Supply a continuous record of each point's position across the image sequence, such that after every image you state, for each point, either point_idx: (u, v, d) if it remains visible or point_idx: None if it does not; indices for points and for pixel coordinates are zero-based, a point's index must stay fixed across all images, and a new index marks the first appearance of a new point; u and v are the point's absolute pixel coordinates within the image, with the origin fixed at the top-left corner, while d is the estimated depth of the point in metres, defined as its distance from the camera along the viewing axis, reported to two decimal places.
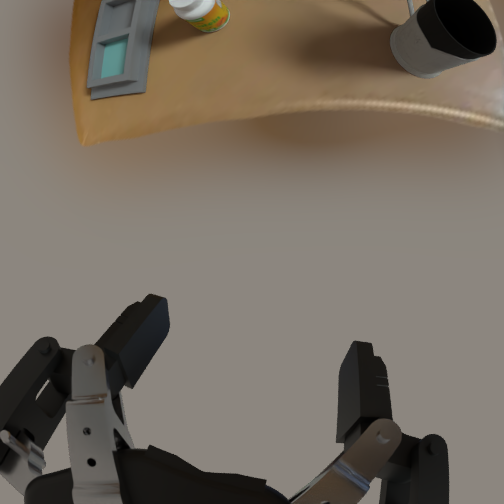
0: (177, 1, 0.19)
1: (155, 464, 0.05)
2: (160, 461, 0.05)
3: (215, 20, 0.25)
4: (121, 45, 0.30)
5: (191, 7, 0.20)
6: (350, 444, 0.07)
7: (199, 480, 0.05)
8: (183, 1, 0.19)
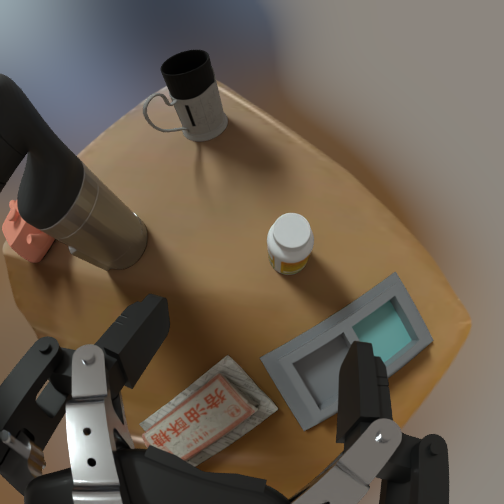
0: (303, 230, 0.28)
1: (155, 464, 0.05)
2: (160, 461, 0.05)
3: None
4: None
5: None
6: (350, 444, 0.07)
7: (199, 480, 0.05)
8: (300, 223, 0.28)
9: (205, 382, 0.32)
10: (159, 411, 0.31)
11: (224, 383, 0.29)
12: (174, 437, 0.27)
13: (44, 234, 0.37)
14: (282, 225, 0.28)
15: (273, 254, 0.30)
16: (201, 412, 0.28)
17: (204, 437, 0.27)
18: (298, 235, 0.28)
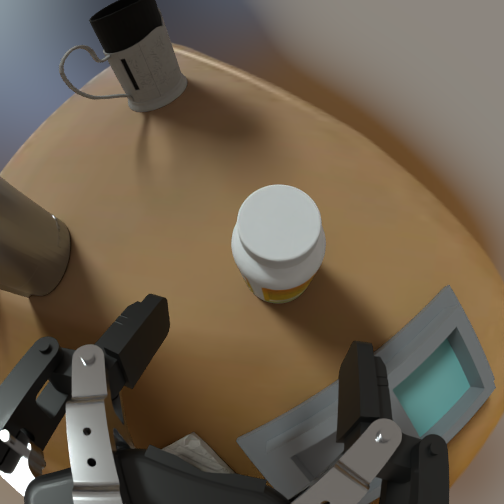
0: (304, 220, 0.12)
1: (155, 464, 0.05)
2: (160, 461, 0.05)
3: None
4: (408, 403, 0.16)
5: None
6: (350, 444, 0.07)
7: (199, 480, 0.05)
8: (296, 205, 0.13)
9: None
10: None
11: None
12: None
13: None
14: (257, 212, 0.13)
15: (244, 274, 0.15)
16: None
17: None
18: (294, 231, 0.12)
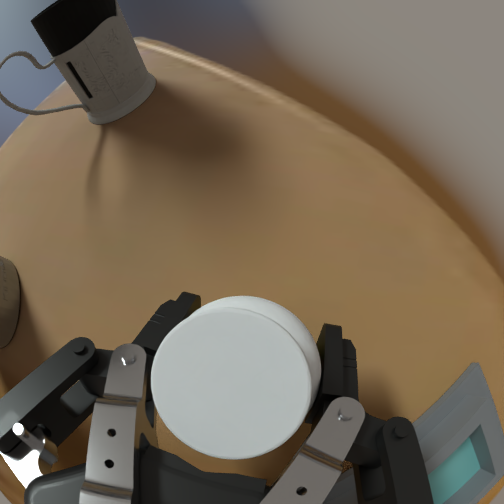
0: (276, 391, 0.06)
1: (155, 464, 0.05)
2: (160, 461, 0.05)
3: None
4: None
5: None
6: (315, 423, 0.07)
7: (199, 480, 0.05)
8: (264, 360, 0.06)
9: None
10: None
11: None
12: None
13: None
14: (185, 369, 0.06)
15: None
16: None
17: None
18: (255, 414, 0.05)
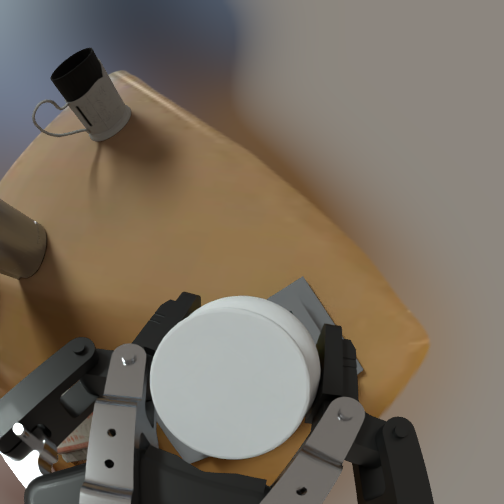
0: (275, 391, 0.06)
1: (155, 464, 0.05)
2: (160, 461, 0.05)
3: None
4: None
5: None
6: (315, 423, 0.07)
7: (199, 480, 0.05)
8: (262, 360, 0.06)
9: None
10: None
11: None
12: None
13: None
14: (184, 369, 0.06)
15: None
16: None
17: (74, 440, 0.20)
18: (253, 414, 0.05)
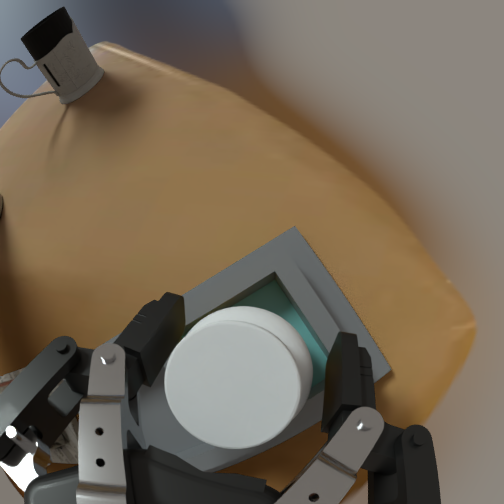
0: (271, 391, 0.07)
1: (155, 464, 0.05)
2: (160, 461, 0.05)
3: None
4: None
5: None
6: (333, 432, 0.07)
7: (199, 480, 0.05)
8: (260, 365, 0.07)
9: None
10: None
11: None
12: None
13: None
14: (194, 373, 0.07)
15: None
16: None
17: None
18: (253, 410, 0.07)
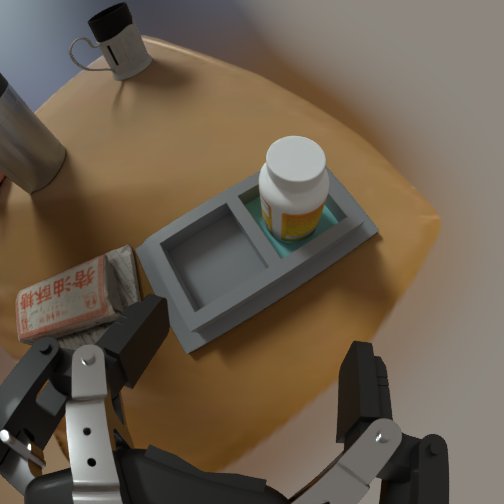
0: (313, 157, 0.17)
1: (155, 464, 0.05)
2: (160, 461, 0.05)
3: None
4: None
5: None
6: (350, 444, 0.07)
7: (199, 480, 0.05)
8: (308, 148, 0.17)
9: None
10: None
11: (100, 264, 0.23)
12: (36, 305, 0.22)
13: None
14: (280, 152, 0.17)
15: (269, 202, 0.19)
16: (65, 287, 0.23)
17: (54, 317, 0.22)
18: (307, 164, 0.17)
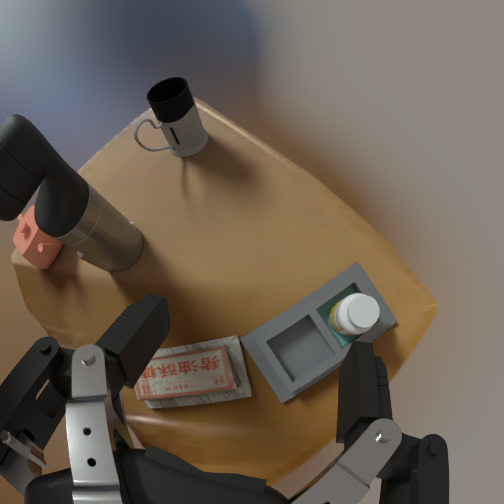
0: (373, 311, 0.30)
1: (155, 464, 0.05)
2: (160, 461, 0.05)
3: None
4: None
5: None
6: (350, 444, 0.07)
7: (199, 480, 0.05)
8: (371, 305, 0.30)
9: (208, 347, 0.39)
10: (158, 350, 0.40)
11: (223, 355, 0.36)
12: (159, 377, 0.35)
13: (52, 243, 0.43)
14: (357, 308, 0.30)
15: (344, 328, 0.32)
16: (193, 368, 0.35)
17: (183, 388, 0.34)
18: (370, 316, 0.29)
